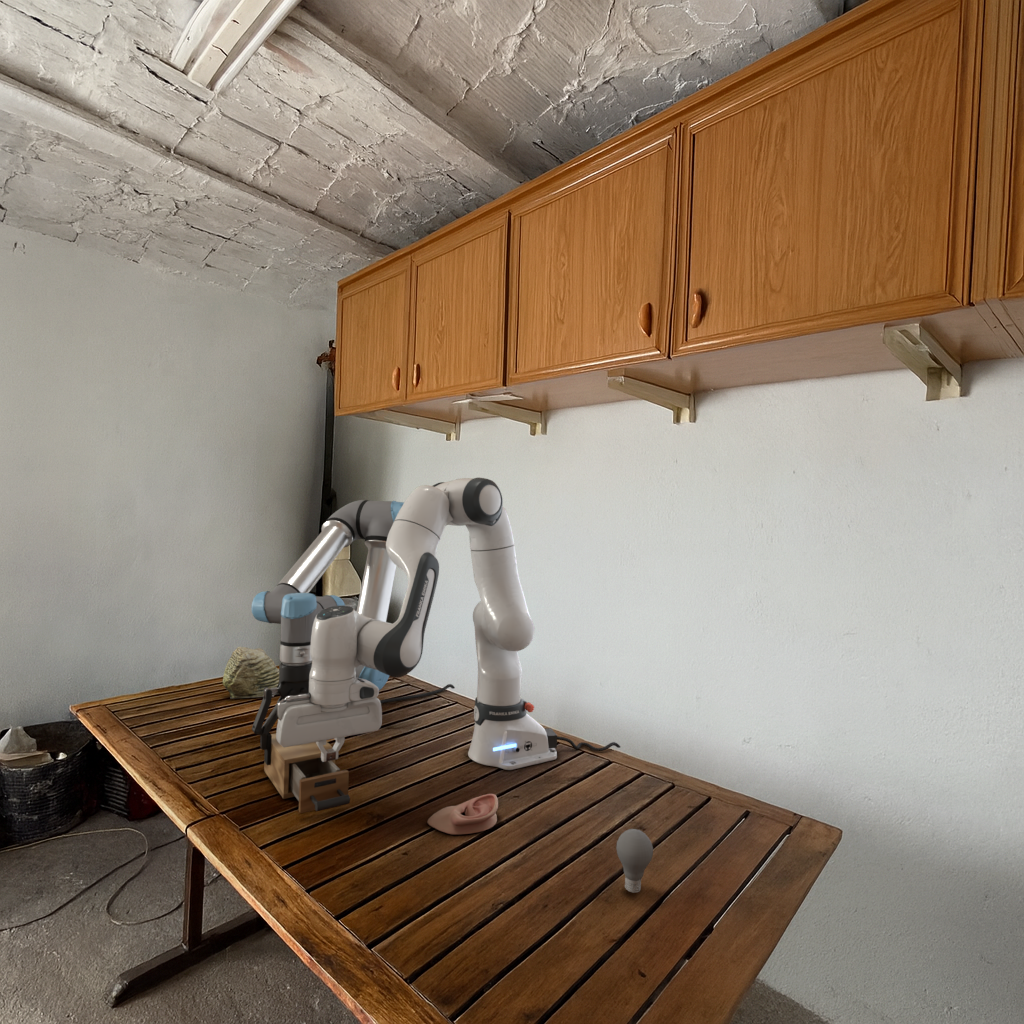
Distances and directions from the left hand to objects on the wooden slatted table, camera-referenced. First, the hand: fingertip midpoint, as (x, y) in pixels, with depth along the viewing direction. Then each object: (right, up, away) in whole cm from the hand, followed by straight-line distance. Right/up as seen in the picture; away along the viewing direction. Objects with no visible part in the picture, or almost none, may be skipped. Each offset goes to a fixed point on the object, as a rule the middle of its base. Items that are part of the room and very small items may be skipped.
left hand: (293, 757), depth 145 cm
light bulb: (+70, -7, -39) cm, 80 cm away
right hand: (+14, +7, -20) cm, 25 cm away
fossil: (-31, -1, +53) cm, 62 cm away
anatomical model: (+40, -6, -18) cm, 45 cm away
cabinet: (+2, -3, -3) cm, 5 cm away
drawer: (+10, -3, -14) cm, 17 cm away
